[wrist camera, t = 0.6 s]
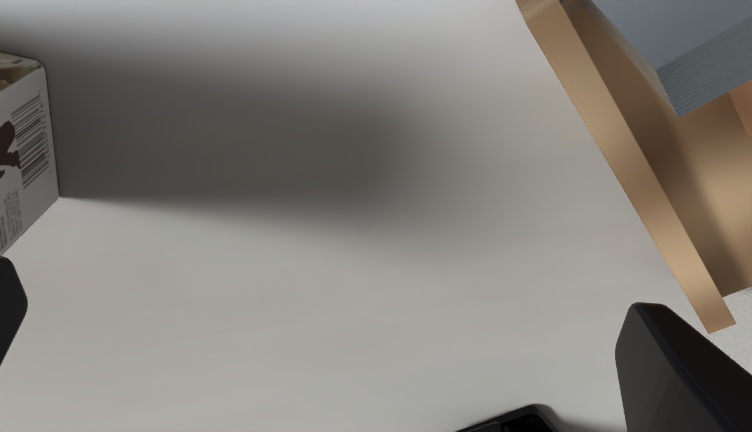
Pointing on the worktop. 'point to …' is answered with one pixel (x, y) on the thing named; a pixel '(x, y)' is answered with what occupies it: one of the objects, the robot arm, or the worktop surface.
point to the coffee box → (24, 147)
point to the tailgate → (682, 45)
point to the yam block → (743, 104)
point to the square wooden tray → (660, 156)
